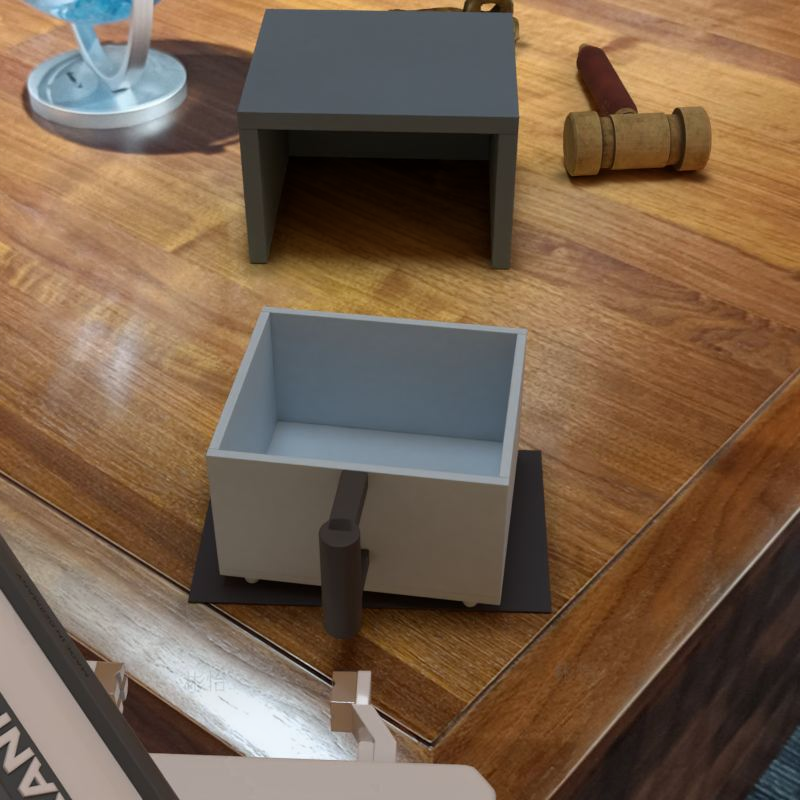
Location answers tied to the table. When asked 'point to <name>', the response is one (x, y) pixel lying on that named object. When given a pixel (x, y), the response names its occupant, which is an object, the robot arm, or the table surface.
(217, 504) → the bin
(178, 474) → the table surface
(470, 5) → the seal
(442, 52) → the cabinet
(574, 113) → the gavel
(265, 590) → the mat
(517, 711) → the table surface
